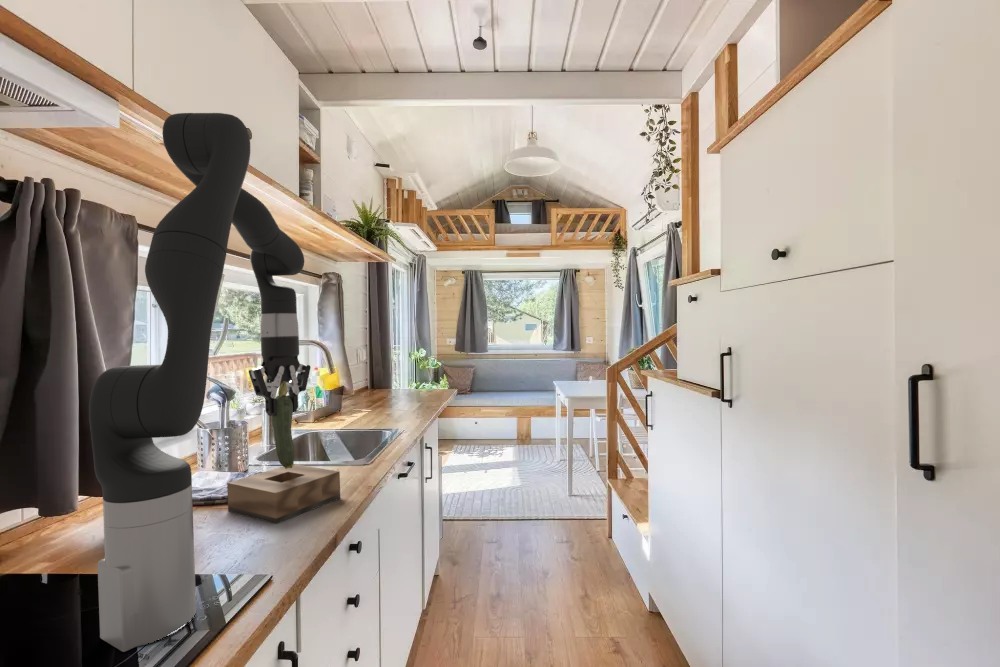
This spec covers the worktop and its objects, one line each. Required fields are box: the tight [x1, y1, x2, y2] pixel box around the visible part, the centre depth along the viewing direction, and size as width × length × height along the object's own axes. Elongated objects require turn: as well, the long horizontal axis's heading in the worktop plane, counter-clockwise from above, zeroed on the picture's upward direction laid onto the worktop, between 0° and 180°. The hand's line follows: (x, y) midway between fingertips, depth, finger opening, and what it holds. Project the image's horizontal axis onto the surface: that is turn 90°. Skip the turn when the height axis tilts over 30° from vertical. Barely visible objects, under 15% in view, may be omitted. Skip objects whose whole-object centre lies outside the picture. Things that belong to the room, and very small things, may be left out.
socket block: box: [226, 463, 341, 525], centre depth 106 cm, size 16×16×6 cm
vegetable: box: [271, 381, 295, 469], centre depth 106 cm, size 4×4×20 cm
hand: (282, 413), depth 106 cm, fingers closed on vegetable, 4 cm apart
